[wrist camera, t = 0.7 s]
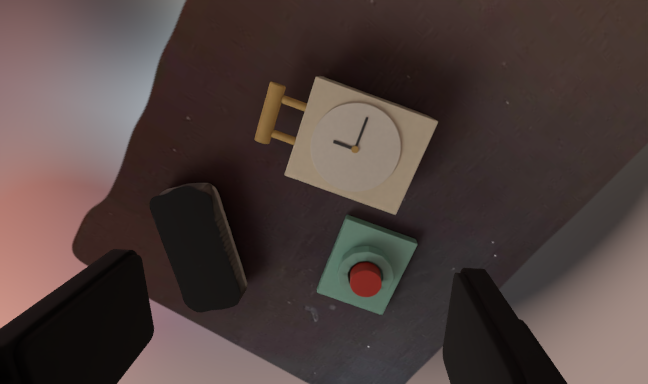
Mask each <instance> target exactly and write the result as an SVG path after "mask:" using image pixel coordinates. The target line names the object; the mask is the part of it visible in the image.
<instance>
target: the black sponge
mask: <svg viewBox="0 0 648 384" xmlns="http://www.w3.org/2000/svg"><path fill="white" fill-rule="evenodd" d="M150 210H151V213H152V215H153V218H154V221H155V224H156V227H157V229H158V232H159V234H160V237H161V240H162V242H163V245H164V248H165V250H166V253H167V255H168V258H169V261H170V263H171V266H172V269H173V271H174V274H175V277H176V279H177V282H178V284H179V287H180V290H181V293H182V297H183V300H184V302H185V304H186V305H187V306H188V307H189V308H190V309H192V310H194V311H196V312H205V311H210V310H219V309H226V308H230V307H233V306H235V305H237V304H238V302H239V301H240V299H241V298H242V296H243V294H244V293H245V291H246V288H247V281H246V277H245V274H244V271H243V267H242V263H241V261H240V258H239V255H238V252H237V249H236V246H235V242H234V240H233V237H232V233H231V230H230V227H229V225H228V221H227V218H226V215H225V212H224V210H223V206H222V202H221V199H220V196H219V193H218V191H217V189H216V188H215V187H214V186H213V185H212V184H210V183H189V184H184V185H181V186H179V187H175V188H170V189H167V190H165V191H163V192H161V194H160V195H158V196H156V197H153V198H152V199H151V201H150Z"/></svg>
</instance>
